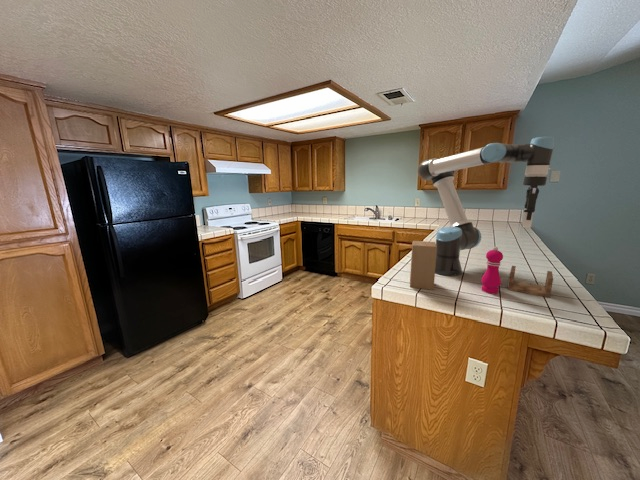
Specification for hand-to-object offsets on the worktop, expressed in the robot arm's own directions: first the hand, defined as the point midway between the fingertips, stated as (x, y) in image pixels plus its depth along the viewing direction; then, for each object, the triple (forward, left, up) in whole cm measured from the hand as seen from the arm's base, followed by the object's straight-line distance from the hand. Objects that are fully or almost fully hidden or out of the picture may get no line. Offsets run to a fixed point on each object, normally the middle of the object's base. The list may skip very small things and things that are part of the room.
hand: (525, 225), depth 114 cm
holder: (+4, -5, -28) cm, 28 cm away
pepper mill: (-9, -17, -28) cm, 34 cm away
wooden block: (-35, -28, -28) cm, 53 cm away
